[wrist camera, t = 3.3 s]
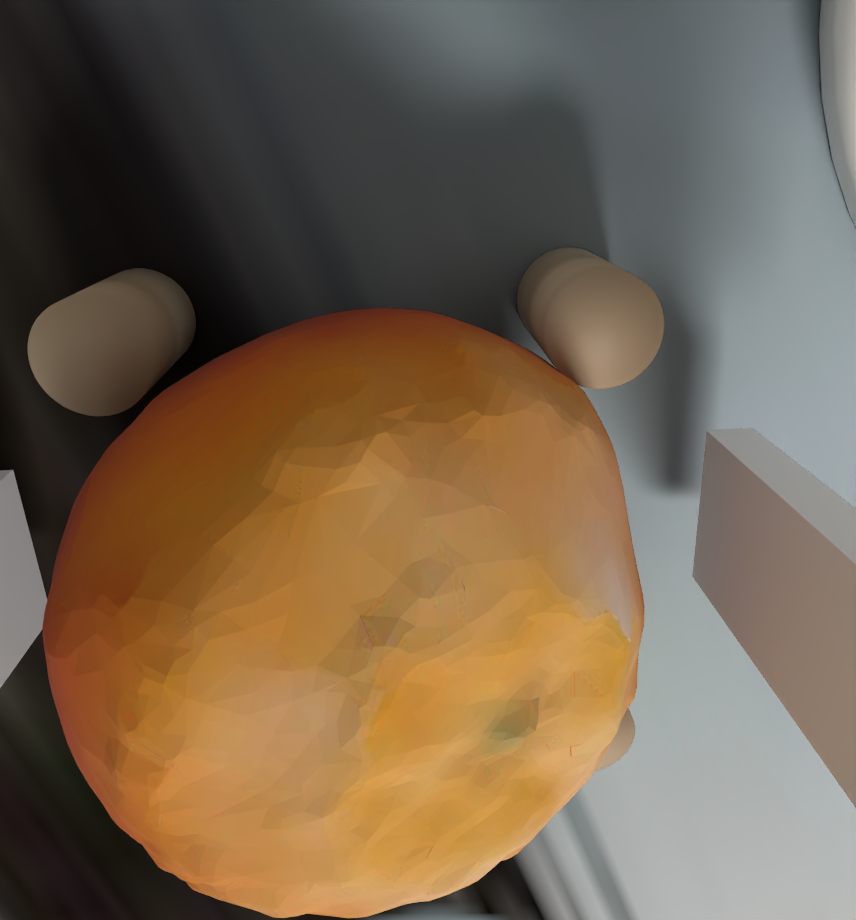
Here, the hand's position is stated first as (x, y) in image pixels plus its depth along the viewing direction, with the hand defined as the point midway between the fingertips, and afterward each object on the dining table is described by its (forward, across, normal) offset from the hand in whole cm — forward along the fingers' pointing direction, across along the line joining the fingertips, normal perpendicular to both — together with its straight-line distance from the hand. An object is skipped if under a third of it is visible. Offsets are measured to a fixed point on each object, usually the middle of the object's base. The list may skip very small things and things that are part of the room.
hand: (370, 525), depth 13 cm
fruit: (+1, 0, 0) cm, 1 cm away
